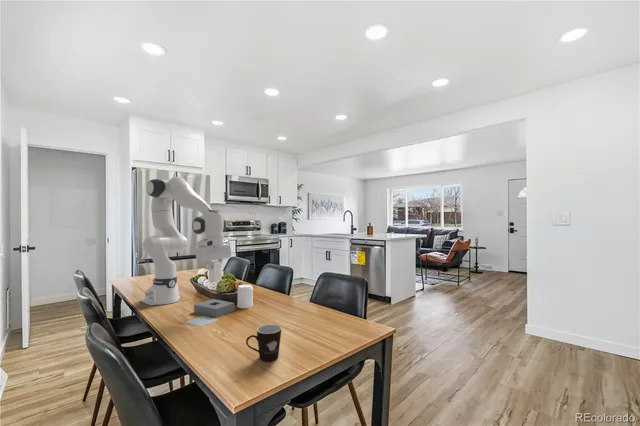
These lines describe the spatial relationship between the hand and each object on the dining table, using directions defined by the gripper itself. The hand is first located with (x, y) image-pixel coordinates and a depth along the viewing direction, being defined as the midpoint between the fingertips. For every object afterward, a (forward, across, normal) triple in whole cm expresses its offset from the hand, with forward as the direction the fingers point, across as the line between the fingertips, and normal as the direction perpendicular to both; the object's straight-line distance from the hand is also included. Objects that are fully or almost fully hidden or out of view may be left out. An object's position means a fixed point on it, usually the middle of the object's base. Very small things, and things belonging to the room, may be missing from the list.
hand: (214, 268), depth 153 cm
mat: (+23, +12, +6) cm, 27 cm away
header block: (+23, 0, 0) cm, 23 cm away
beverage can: (+23, -15, +7) cm, 29 cm away
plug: (+7, 0, 0) cm, 7 cm away
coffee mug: (+24, +26, +54) cm, 64 cm away
